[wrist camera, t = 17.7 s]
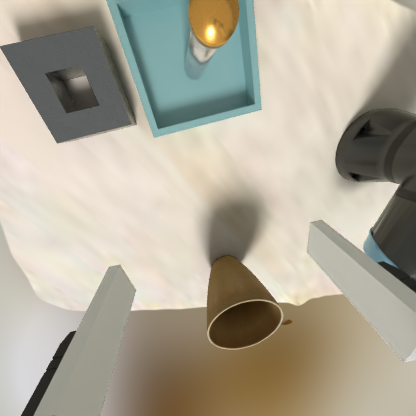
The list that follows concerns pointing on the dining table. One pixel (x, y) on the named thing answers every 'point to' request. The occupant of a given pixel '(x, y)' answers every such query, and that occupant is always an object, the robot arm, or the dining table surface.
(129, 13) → the tray
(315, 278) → the dining table surface
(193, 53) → the pin
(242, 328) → the plant pot
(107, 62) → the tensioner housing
